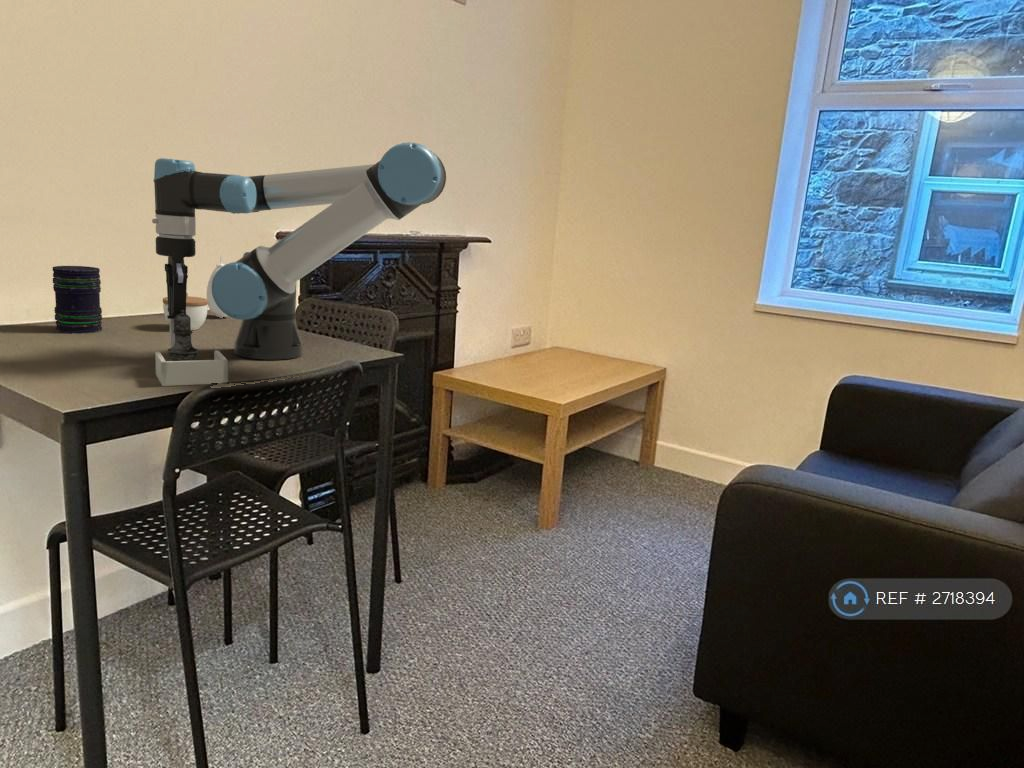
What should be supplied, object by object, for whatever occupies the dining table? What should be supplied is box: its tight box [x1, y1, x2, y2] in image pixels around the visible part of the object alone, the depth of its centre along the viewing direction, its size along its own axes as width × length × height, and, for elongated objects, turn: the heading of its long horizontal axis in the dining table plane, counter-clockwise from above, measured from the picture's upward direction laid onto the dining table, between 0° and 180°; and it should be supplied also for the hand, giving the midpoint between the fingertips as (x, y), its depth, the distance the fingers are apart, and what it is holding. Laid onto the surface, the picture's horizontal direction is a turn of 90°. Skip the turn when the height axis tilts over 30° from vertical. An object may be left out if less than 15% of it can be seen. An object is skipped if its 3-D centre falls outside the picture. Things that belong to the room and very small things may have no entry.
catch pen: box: [154, 350, 229, 387], centre depth 140 cm, size 12×9×4 cm
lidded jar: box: [162, 292, 209, 331], centre depth 188 cm, size 11×11×9 cm
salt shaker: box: [166, 310, 199, 361], centre depth 148 cm, size 6×6×12 cm
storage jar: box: [52, 265, 103, 335], centre depth 173 cm, size 10×10×15 cm
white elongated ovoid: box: [206, 254, 229, 319], centre depth 207 cm, size 8×8×18 cm
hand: (177, 347), depth 155 cm, fingers closed
